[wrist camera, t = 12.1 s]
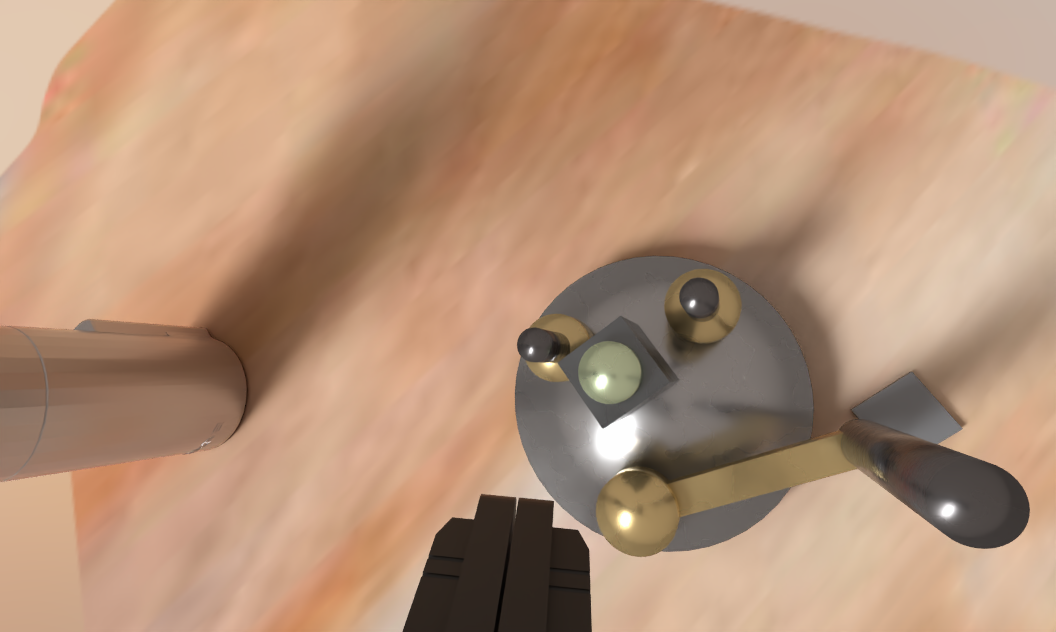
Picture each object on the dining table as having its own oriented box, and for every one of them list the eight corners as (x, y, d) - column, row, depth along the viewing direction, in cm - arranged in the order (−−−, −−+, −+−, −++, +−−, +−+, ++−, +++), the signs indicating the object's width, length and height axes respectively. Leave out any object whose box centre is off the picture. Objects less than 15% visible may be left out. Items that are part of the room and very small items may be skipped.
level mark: (850, 409, 31) (852, 409, 31) (910, 371, 30) (912, 371, 30) (897, 465, 30) (899, 466, 30) (960, 428, 30) (962, 428, 29)
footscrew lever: (618, 554, 32) (545, 680, 19) (592, 478, 33) (505, 550, 20) (907, 478, 28) (1065, 574, 15) (868, 393, 29) (986, 414, 16)
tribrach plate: (479, 365, 39) (412, 364, 31) (684, 207, 35) (671, 157, 27) (625, 594, 34) (594, 666, 26) (878, 439, 31) (934, 465, 22)
